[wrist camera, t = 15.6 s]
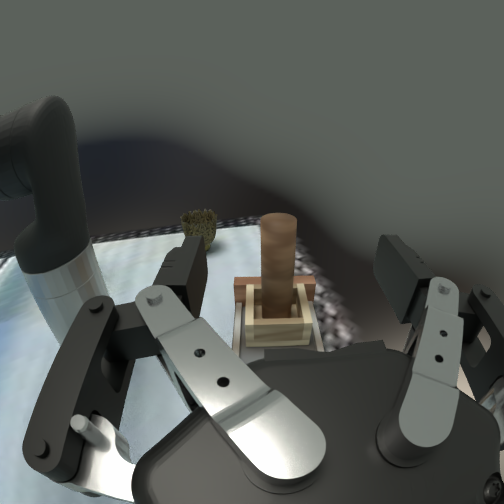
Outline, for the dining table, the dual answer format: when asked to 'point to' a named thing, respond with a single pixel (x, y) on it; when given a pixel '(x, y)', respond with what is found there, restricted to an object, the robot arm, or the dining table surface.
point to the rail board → (239, 320)
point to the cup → (200, 225)
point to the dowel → (277, 264)
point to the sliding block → (277, 320)
